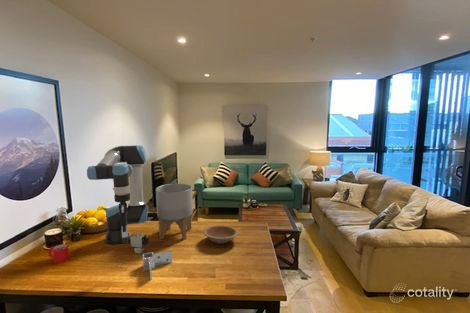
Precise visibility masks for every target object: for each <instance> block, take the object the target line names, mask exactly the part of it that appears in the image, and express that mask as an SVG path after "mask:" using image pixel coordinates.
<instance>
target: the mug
mask: <svg viewBox="0 0 470 313" xmlns="http://www.w3.org/2000/svg"><path fill="white" fill-rule="evenodd" d="M47 253H48V255H49V257H50V258H52V259H53V263H54V264H59V263H60V264H61V263H63V262H64V263H65V262H66V261H68V260H69V259H70V251H69V244H68V243H61V244H58V245H57V244H56V245H55V246H50V247H49V249H48V251H47Z"/></svg>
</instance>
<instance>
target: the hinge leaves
mask: <svg viewBox="0 0 470 313" xmlns="http://www.w3.org/2000/svg"><path fill="white" fill-rule="evenodd" d="M172 252H173V251H172V249H171V250H167V251H163V252H156V253H154V251H152V252H151V251H150V252H145V253H142V267H143V272H144V271H148V274H149V279H150V281H152V280H153V272H152V270H154V269H155V268H156V266H162V265H167V264H171V263H173V253H172Z"/></svg>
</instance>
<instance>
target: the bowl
mask: <svg viewBox="0 0 470 313" xmlns="http://www.w3.org/2000/svg"><path fill="white" fill-rule="evenodd" d="M202 233H203V235H204V236H206V237H207V238H208V239H209V240H210V241H211V242H213V243H216V244H218V245H222V244H227V243H228V242H230V241H232V240H233V239H234V238H235V237H237V236H238V235H239V230H238V229H237V228H235V227H234V226H229V225H225V224H224V225H223V224H222V225H221V224H220V225H211V226H208V227H206V228H204V229H203V231H202Z"/></svg>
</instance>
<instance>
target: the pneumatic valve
mask: <svg viewBox="0 0 470 313" xmlns="http://www.w3.org/2000/svg"><path fill="white" fill-rule="evenodd" d="M149 242H150V240H149V237H148V235H147V234H143V233H132V234H131V235H129V238H128V242H127V243H128V244H129V247H134V249H133V250H134V253H135V254H142V253H143V252H144V247H146V246H147V245H148V244H149Z"/></svg>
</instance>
